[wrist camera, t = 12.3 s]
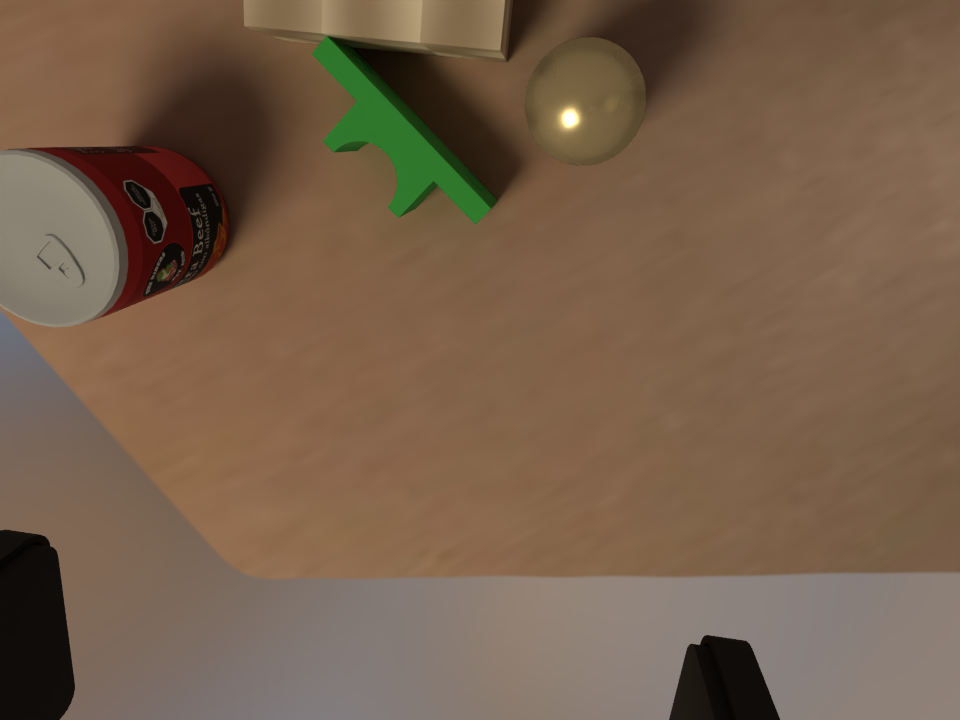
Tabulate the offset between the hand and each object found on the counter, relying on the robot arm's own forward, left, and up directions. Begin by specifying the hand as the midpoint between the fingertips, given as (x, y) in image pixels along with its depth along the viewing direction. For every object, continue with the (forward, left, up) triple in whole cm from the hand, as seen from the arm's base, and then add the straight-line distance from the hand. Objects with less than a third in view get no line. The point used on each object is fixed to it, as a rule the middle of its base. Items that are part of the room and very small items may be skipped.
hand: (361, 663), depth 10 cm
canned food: (+20, -1, -31) cm, 36 cm away
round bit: (-3, -9, -30) cm, 32 cm away
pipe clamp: (+6, -6, -31) cm, 32 cm away
